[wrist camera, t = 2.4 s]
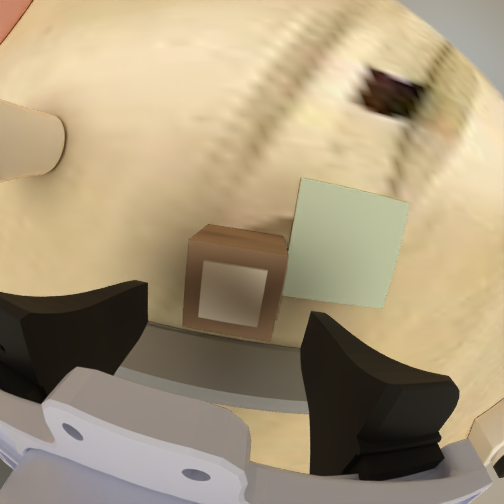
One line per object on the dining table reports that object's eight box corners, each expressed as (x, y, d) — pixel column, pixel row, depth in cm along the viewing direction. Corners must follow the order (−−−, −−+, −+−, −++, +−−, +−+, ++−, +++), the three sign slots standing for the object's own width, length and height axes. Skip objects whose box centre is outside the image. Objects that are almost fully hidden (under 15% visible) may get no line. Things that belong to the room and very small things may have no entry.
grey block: (305, 386, 21) (313, 438, 16) (145, 358, 22) (117, 403, 16) (317, 350, 20) (331, 402, 15) (143, 320, 20) (110, 362, 15)
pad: (380, 306, 19) (382, 308, 19) (279, 292, 19) (279, 295, 19) (407, 203, 17) (409, 203, 17) (300, 177, 17) (301, 177, 17)
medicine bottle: (465, 441, 25) (491, 489, 13) (474, 418, 23) (507, 471, 12) (496, 420, 24) (525, 462, 12) (506, 395, 22) (541, 440, 11)
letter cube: (272, 304, 20) (274, 343, 15) (201, 292, 20) (181, 327, 15) (285, 236, 18) (293, 257, 13) (208, 224, 18) (187, 240, 13)
